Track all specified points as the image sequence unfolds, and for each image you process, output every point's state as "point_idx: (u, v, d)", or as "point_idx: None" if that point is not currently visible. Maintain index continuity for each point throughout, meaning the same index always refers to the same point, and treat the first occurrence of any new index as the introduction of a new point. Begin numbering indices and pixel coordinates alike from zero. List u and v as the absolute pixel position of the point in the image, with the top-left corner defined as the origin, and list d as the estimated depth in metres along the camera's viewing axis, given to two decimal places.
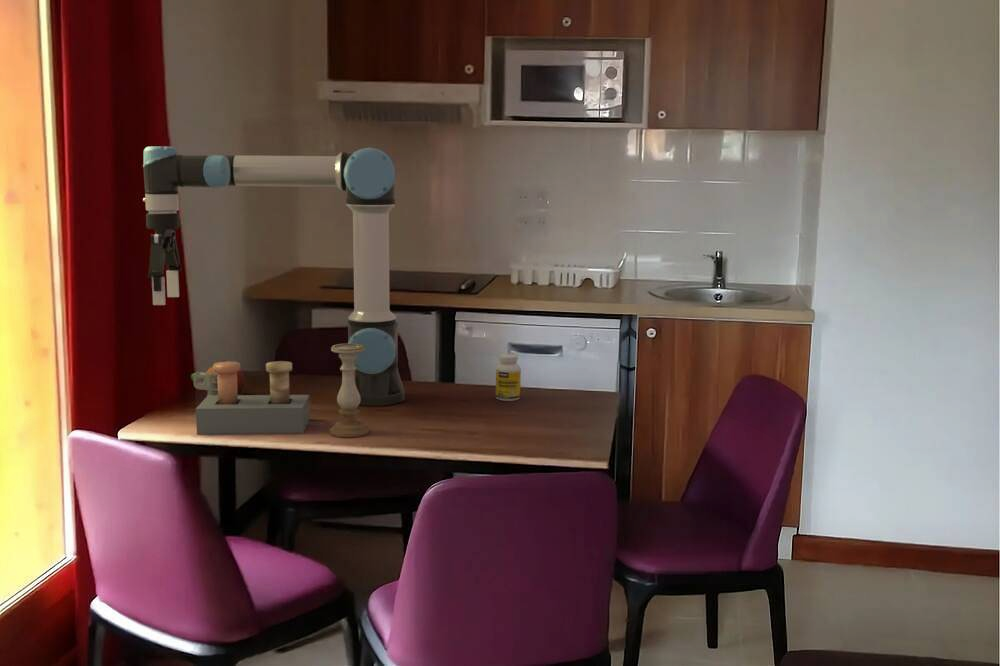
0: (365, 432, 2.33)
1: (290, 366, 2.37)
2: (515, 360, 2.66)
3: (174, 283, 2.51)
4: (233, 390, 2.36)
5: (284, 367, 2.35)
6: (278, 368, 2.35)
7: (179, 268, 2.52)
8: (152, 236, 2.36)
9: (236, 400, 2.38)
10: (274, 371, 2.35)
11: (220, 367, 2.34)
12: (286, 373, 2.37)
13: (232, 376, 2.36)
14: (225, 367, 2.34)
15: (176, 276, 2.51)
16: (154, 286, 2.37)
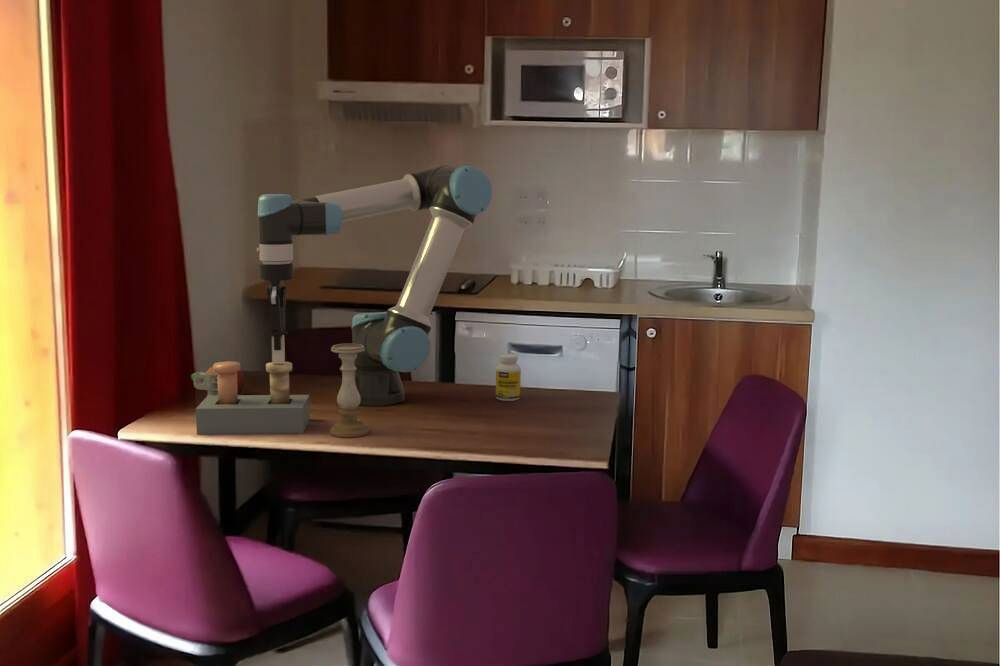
0: (365, 432, 2.33)
1: (290, 366, 2.37)
2: (515, 360, 2.66)
3: None
4: (233, 390, 2.36)
5: (284, 367, 2.35)
6: (278, 369, 2.35)
7: (285, 332, 2.37)
8: (269, 299, 2.29)
9: (236, 400, 2.38)
10: (274, 371, 2.35)
11: (220, 367, 2.34)
12: (286, 373, 2.37)
13: (232, 376, 2.36)
14: (225, 367, 2.34)
15: None
16: (274, 345, 2.35)
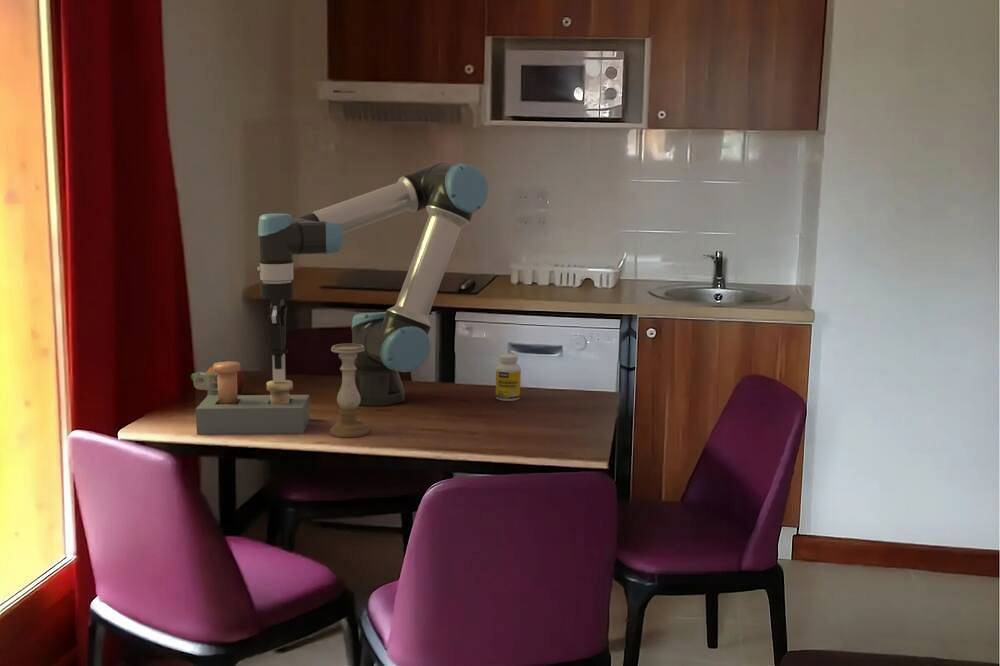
0: (365, 432, 2.33)
1: (290, 385, 2.37)
2: (515, 360, 2.66)
3: None
4: (233, 390, 2.36)
5: (285, 386, 2.36)
6: (279, 388, 2.35)
7: (286, 350, 2.38)
8: (269, 318, 2.29)
9: (236, 400, 2.38)
10: (275, 390, 2.36)
11: (220, 367, 2.34)
12: (286, 392, 2.38)
13: (232, 376, 2.36)
14: (225, 367, 2.34)
15: None
16: (275, 364, 2.36)
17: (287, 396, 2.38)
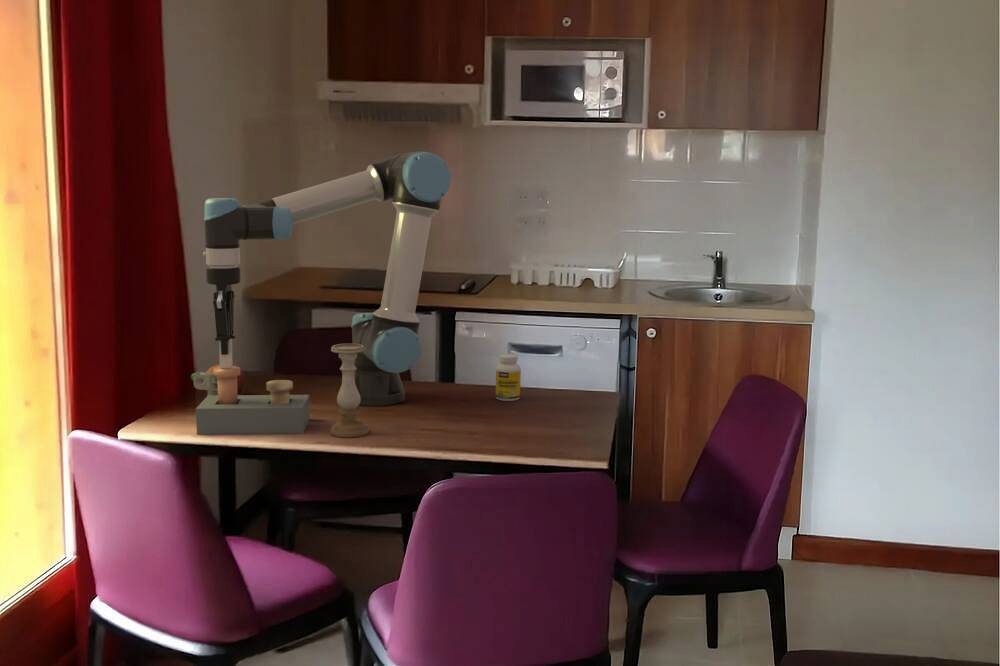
0: (365, 432, 2.33)
1: (290, 385, 2.37)
2: (515, 360, 2.66)
3: None
4: (233, 394, 2.36)
5: (285, 386, 2.36)
6: (279, 388, 2.35)
7: (233, 336, 2.37)
8: (215, 303, 2.28)
9: None
10: (275, 390, 2.36)
11: (220, 372, 2.34)
12: (287, 392, 2.38)
13: (232, 381, 2.36)
14: (225, 372, 2.34)
15: None
16: (221, 349, 2.34)
17: (287, 396, 2.38)
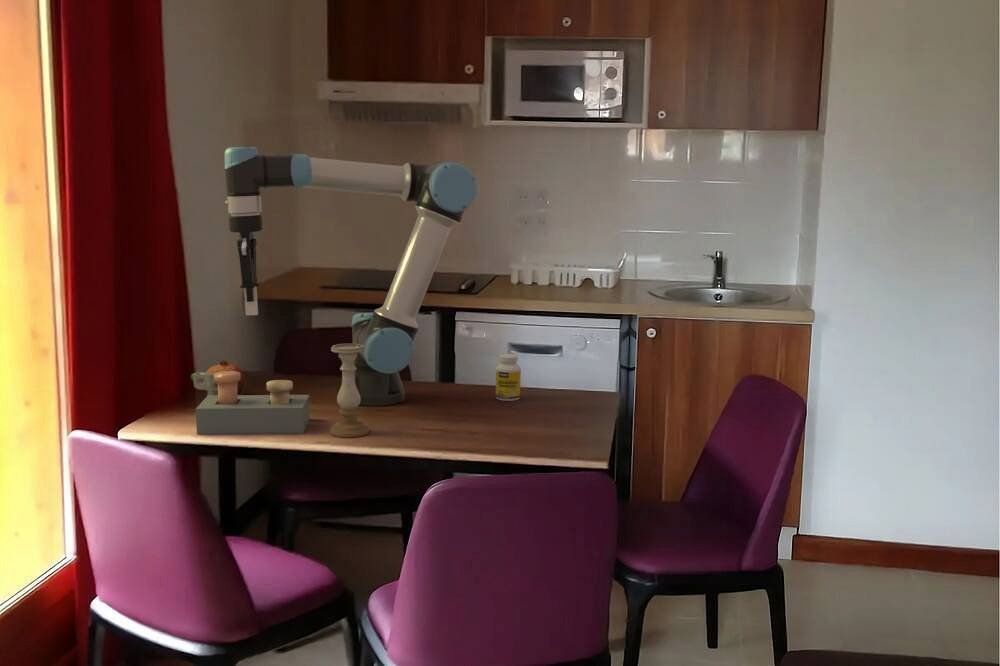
0: (365, 432, 2.33)
1: (290, 385, 2.37)
2: (515, 360, 2.66)
3: None
4: (233, 399, 2.37)
5: (285, 386, 2.36)
6: (279, 388, 2.35)
7: (257, 283, 2.41)
8: (239, 250, 2.32)
9: None
10: (275, 390, 2.36)
11: (220, 377, 2.34)
12: (287, 392, 2.38)
13: (233, 386, 2.36)
14: (225, 377, 2.34)
15: None
16: (247, 297, 2.38)
17: (287, 396, 2.38)
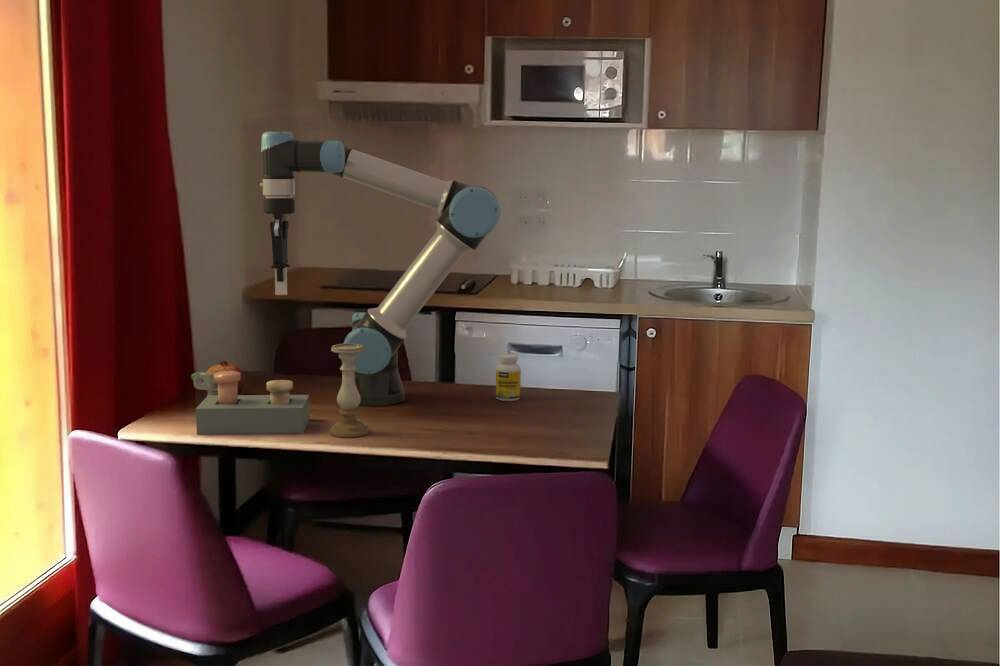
0: (365, 432, 2.33)
1: (290, 385, 2.37)
2: (515, 360, 2.66)
3: None
4: (233, 399, 2.37)
5: (285, 386, 2.36)
6: (279, 388, 2.35)
7: (287, 264, 2.49)
8: (272, 231, 2.40)
9: None
10: (275, 390, 2.36)
11: (220, 377, 2.34)
12: (287, 392, 2.38)
13: (233, 386, 2.36)
14: (225, 377, 2.34)
15: None
16: (277, 276, 2.46)
17: (287, 396, 2.38)
